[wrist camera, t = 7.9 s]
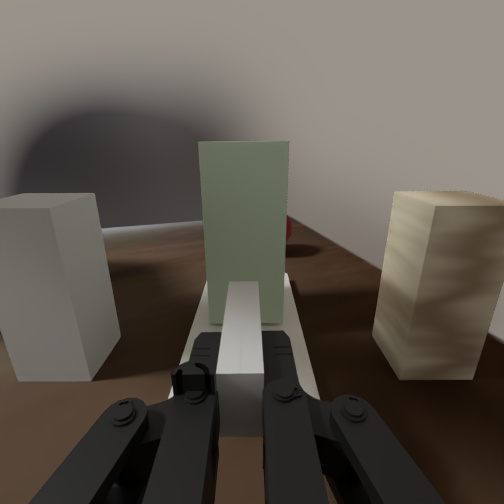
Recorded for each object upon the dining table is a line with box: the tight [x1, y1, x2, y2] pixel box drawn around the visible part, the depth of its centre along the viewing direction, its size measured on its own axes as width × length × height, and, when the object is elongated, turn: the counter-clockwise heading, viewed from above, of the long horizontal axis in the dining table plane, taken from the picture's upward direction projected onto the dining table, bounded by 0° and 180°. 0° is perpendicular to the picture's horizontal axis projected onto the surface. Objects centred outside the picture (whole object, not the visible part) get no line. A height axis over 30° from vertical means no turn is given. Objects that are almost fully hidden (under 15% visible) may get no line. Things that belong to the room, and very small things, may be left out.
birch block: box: [372, 191, 504, 380], centre depth 21 cm, size 5×5×12 cm
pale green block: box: [198, 141, 289, 324], centre depth 25 cm, size 6×6×14 cm
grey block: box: [0, 193, 121, 382], centre depth 21 cm, size 5×5×12 cm
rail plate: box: [168, 273, 320, 400], centre depth 26 cm, size 19×9×1 cm, turn 0°
